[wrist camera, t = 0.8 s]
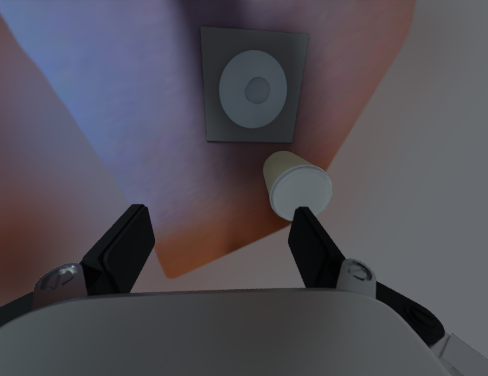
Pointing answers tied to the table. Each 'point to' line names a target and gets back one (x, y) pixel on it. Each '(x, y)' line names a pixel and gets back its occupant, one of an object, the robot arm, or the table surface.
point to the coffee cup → (295, 184)
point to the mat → (223, 51)
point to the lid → (253, 89)
